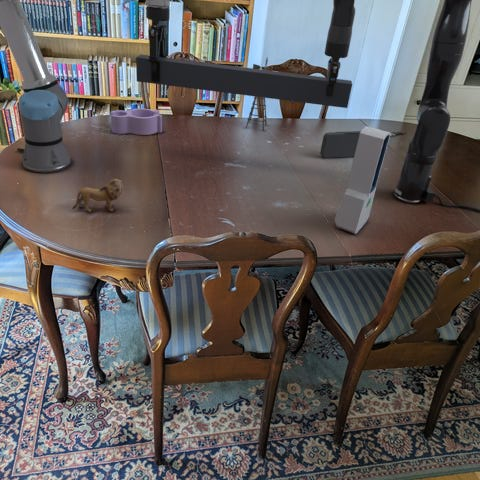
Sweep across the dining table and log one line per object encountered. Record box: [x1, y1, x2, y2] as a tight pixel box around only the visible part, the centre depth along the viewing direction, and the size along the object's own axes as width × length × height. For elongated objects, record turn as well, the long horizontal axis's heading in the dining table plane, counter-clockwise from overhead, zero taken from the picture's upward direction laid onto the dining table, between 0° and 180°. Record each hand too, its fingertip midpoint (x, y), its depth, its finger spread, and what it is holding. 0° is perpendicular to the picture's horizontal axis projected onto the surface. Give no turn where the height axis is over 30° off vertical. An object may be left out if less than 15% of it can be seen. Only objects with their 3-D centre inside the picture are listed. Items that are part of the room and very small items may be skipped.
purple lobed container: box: [109, 107, 163, 136], centre depth 192 cm, size 20×12×7 cm, turn 109°
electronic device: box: [334, 125, 392, 235], centre depth 136 cm, size 12×8×30 cm, turn 148°
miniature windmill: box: [245, 57, 269, 131], centre depth 203 cm, size 9×8×30 cm
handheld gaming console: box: [319, 130, 362, 159], centre depth 188 cm, size 23×3×10 cm, turn 108°
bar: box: [135, 54, 353, 109], centre depth 160 cm, size 73×5×8 cm, turn 83°
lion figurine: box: [71, 178, 124, 213], centre depth 135 cm, size 15×5×9 cm, turn 110°
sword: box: [390, 131, 407, 137], centre depth 214 cm, size 31×3×1 cm, turn 126°
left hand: (157, 79), depth 163 cm, fingers closed on bar, 5 cm apart
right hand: (328, 93), depth 158 cm, fingers closed on bar, 5 cm apart
